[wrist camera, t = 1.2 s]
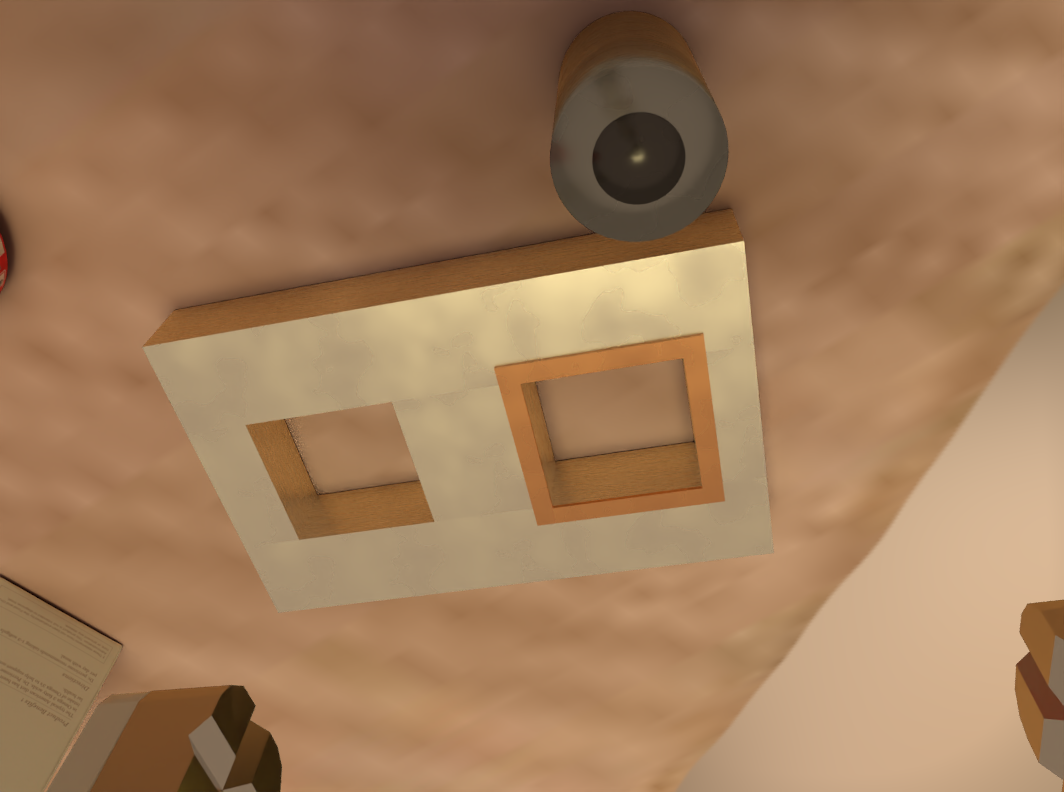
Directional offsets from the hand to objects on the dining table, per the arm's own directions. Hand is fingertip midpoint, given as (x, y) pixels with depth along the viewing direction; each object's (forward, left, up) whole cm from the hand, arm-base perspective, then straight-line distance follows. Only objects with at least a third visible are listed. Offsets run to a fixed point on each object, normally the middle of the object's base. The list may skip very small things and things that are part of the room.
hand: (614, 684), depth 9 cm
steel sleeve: (0, +1, -25) cm, 25 cm away
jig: (+12, -7, -24) cm, 28 cm away
